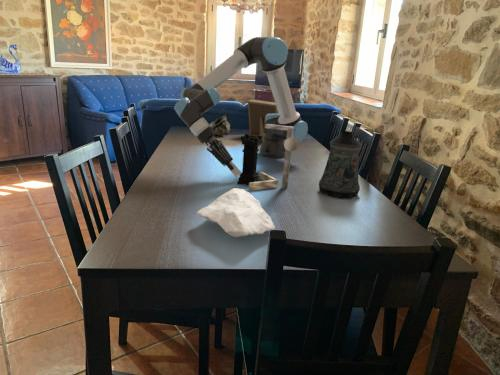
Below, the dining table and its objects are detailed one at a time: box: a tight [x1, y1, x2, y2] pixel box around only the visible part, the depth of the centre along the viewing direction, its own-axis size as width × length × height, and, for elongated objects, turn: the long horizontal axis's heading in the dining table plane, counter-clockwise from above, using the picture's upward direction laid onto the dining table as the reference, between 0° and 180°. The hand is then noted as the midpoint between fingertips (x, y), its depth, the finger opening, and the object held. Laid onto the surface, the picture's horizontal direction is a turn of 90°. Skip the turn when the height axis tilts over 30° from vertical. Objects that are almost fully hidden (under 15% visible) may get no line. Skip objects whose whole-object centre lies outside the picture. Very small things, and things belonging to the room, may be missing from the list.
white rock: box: [196, 187, 276, 238], centre depth 114 cm, size 24×35×9 cm
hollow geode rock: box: [209, 114, 231, 137], centre depth 254 cm, size 28×13×15 cm
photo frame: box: [247, 98, 279, 142], centre depth 246 cm, size 15×22×25 cm
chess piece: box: [236, 133, 262, 187], centre depth 153 cm, size 8×8×20 cm
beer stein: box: [318, 130, 362, 200], centre depth 150 cm, size 16×19×25 cm
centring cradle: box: [248, 124, 299, 192], centre depth 152 cm, size 19×17×26 cm
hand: (238, 174), depth 156 cm, fingers closed
